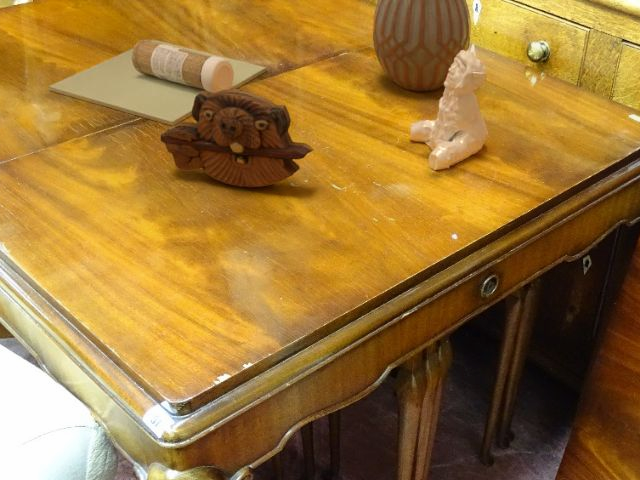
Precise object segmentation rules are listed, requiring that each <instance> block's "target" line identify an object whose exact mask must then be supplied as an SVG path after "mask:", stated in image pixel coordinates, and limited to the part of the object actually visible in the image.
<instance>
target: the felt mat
mask: <svg viewBox="0 0 640 480" xmlns="http://www.w3.org/2000/svg"><path fill="white" fill-rule="evenodd" d="M150 41H152V42H155V43H159V44H165V45H169V46H173V47H177V48H181V49H184V50H187V51H191V52H195V53H198V54H202V55H206V56H211V57H212V56H216V57H220V58H224V59H226V60H228V61H229V62H230V63H231V65H232V68H233V74H234V75H233V82H232V85H231V87H230V89H237V90H238V89H239V88H241V87H242V86H244V85H246V84H247V83H249V82H251V81H253V80H254V79H256V78H258V77H259V76H261V75H263V74H265V73H266V72H267V71H268V70H267V67H266V66H262V65H259V64H255V63H250V62H246V61H242V60H238V59H233V58H231V57H226V56H222V55H218V54H214V53H211V52H206V51H202V50H199V49H194V48H190V47H187V46H181V45H178V44H175V43H174V44H173V43H169V42H165V41H162V40H157V39H150ZM133 49H134V47H132V48H130V49H127V50H126V51H124V52H121V53H119V54H118V55H115V56H113V57H111V58H109V59H106V60H104V61H102V62H100V63H97V64H95V65H92V66H91V67H88V68H87V69H84V70H82V71H80V72H77V73H75V74H73V75H71V76H68V77H66V78H63V79H62V80H60V81H57V82H55V83H53V84H51V85H49V86H48V89H49V91H50V92H53V93H56V94H60V95H63V96H67V97H71V98H74V99H78V100H81V101H85V102H88V103H92V104H95V105H99V106H102V107H104V108H109V109H112V110H116V111H120V112H123V113H126V114H130V115H134V116H137V117H140V118H144V119H147V120H151V121H154V122H158V123H162V124H165V125H168V126H170V127H172V126H176V125H178V124H179V123H181V122H184V121H185V120H186V119H188V118H190V117H192V108H193V105H194V100H195V97H196V96H197V95H198V94H199V93H200V92H201V91H206V90H205V89H201V88H197V87H193V86H188V85H184V84H180V83H176V82H173V81H169V80H165V79H162V78H158V77H157V76H153V75H149V74H142V73H140V72H138V71H137V70H136V69H135V67H134V66H133V62H132V52H133ZM206 92H208V91H206ZM208 93H210V92H208ZM210 94H213V93H210Z"/></svg>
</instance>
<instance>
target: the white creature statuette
mask: <svg viewBox="0 0 640 480" xmlns="http://www.w3.org/2000/svg"><path fill="white" fill-rule="evenodd" d="M486 81H487V73H486V66H485V65H484V64H483V60H482V59H480V58H478V56H477V55H475V54H473V52H471V51H470V50H469V49H468V50H467V51H465V50H461V51H460V52H459V53H458V54H457V56H456V57H455V58H454V63H453V64H452V65H451V68H449V73H448V74H447V77H446V81H445V82H444V85H443V86H444V91H443V92H442V96H441V97H440V99H439V100H438V112H437V114H436V115H437V117H436V119H431V120H430V119H423V120H422V119H420V120H418V121H415V122H412V123H411V122H410V125H409V126H410V127H409V137H410V138H409V139H410V141H413V142H415V143H416V142H417V143H418V142H419V143H424V144H425V145H426V146H428V147H429V149H430V151H431V152H430V154H429V155H428V165H429V167H430V169H432V170H434V171H437V170H438V171H441V170H445V169H450V167H451V166H454V165H455V164H458V163H459V162H463V161H464V160H466V159H468V158H469V157H471V156H473V155H475V154H477V153H478V152H479V150H481V149H483V145H484V144H485V143H486V141H487V139H488V137H489V134H490V133H489V130H488V128H487V124H486V122H485V118H484V116H483V115H482V112H481V111H480V109H481V107H480V105H479V101H478V99H479V98H478V97H477V96H476V95H477V94H475V90H477V89H478V88H479V86H481V85H484V83H485V82H486Z"/></svg>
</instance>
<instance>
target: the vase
mask: <svg viewBox="0 0 640 480" xmlns="http://www.w3.org/2000/svg"><path fill="white" fill-rule="evenodd" d="M471 27H472V24H471V14H470V9H469V6H468V2H467V0H378V1H377V4H376V6H375V10H374V15H373V23H372V40H373V48H374V52H375V55H376V58H377V61H378V63H379V65H380V67H381V68H382V70H383V71H384V73H385V74H386V75H387V76H388V77H389V78H390V79H391V80H392V81H393V82H394V83H395V84H396V85H398V86H399V87H400V88H402V89H405V90H408V91H411V92H412V91H413V92H431V91H435V90H439V89H441V88H442V87H443V86H444V82H445V81H446V77H447V74H448V73H449V68H451V65H452V64H453V63H454V58H455V57H456V56H457V54H458V53H459V52H460V51H461V50H465V51H467V50H469V48H470V43H471V34H472V33H471V32H472V31H471V29H472V28H471Z"/></svg>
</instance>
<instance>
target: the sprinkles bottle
mask: <svg viewBox="0 0 640 480" xmlns="http://www.w3.org/2000/svg"><path fill="white" fill-rule="evenodd" d="M150 40H151V39H150ZM150 40H149V39H146V38H144V39H140V40H139V41H137V42H136V43H135V45H134V46H133V48H134V49H133V48H132V49H133V52H132V62H133V66H134V67H135V69H136V70H137V71H138V72H140V73H142V74H149V75H153V76H157V77H158V78H162V79H165V80H169V81H173V82H176V83H180V84H184V85H188V86H193V87H197V88H201V89H205V90H206V91H208V92H210V93H216V92H219V91H222V90H228V89H230V87H231V85H232V82H233V75H234V74H233V68H232V65H231V63H230V62H229V61H228V60H226V59H224V58H220V57H216V56H212V57H211V56H206V55H202V54H198V53H195V52H191V51H187V50H184V49H181V48H177V47H173V46H169V45H165V44H159V43H155V42H152V41H150Z"/></svg>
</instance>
